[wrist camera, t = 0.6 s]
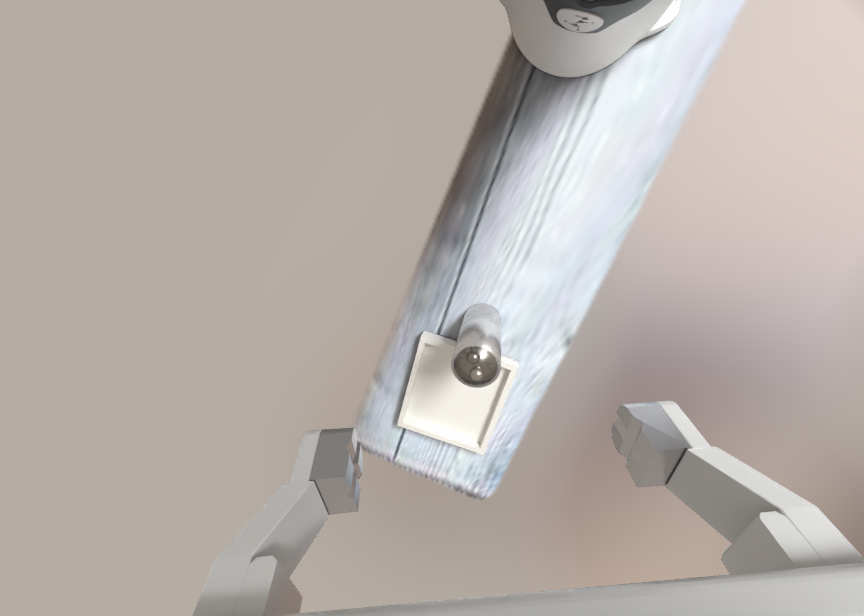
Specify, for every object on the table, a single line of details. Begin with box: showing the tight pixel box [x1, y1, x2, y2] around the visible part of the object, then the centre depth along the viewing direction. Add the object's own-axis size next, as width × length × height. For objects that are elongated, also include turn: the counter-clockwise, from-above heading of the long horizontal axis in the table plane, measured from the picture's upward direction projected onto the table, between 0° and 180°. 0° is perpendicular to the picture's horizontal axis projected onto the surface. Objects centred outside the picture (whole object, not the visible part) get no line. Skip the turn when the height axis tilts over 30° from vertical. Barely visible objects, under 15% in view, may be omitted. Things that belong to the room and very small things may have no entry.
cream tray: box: [397, 331, 519, 455], centre depth 54 cm, size 16×14×2 cm
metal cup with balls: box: [451, 304, 501, 388], centre depth 44 cm, size 5×5×14 cm
